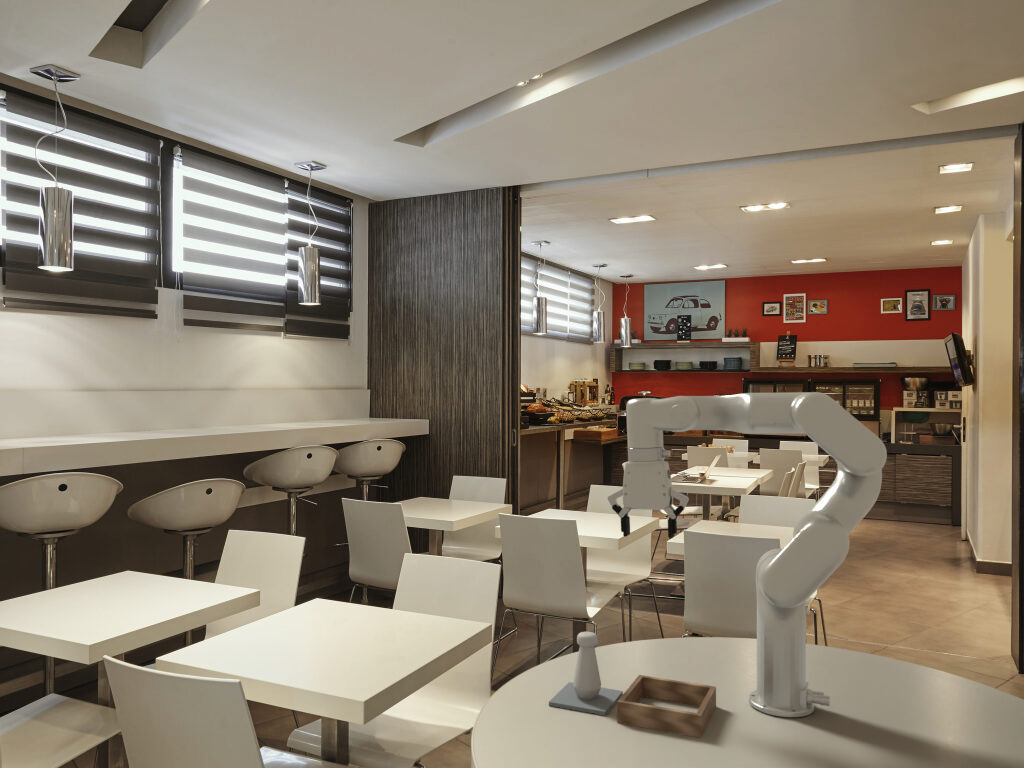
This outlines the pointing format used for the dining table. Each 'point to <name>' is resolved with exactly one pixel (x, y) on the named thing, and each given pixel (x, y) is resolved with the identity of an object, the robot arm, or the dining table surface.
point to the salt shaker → (587, 667)
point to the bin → (666, 717)
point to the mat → (597, 705)
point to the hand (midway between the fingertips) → (648, 536)
